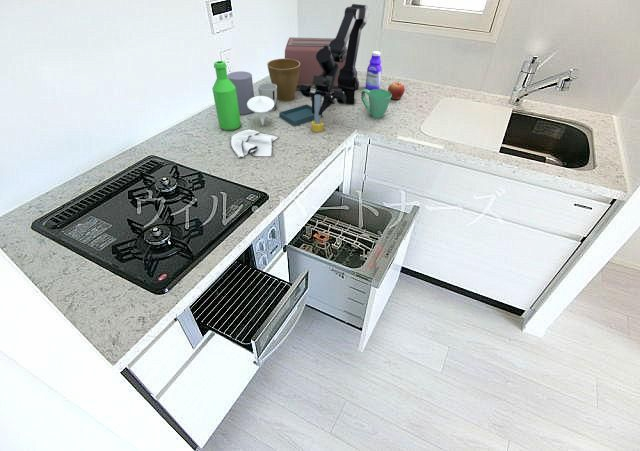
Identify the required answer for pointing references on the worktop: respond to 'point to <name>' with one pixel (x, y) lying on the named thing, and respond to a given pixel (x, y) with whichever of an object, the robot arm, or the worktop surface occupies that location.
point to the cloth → (252, 143)
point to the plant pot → (284, 77)
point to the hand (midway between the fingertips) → (316, 114)
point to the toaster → (309, 58)
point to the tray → (298, 115)
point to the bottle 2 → (374, 72)
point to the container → (242, 89)
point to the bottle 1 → (225, 99)
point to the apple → (396, 90)
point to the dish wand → (317, 115)
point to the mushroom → (260, 106)
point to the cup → (269, 92)
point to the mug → (376, 101)
